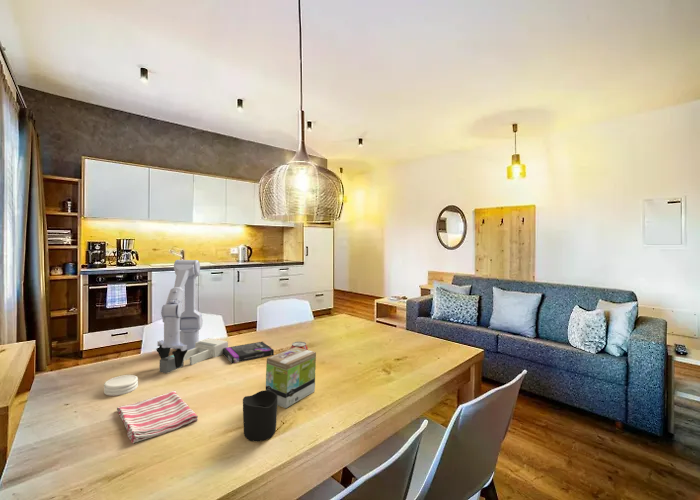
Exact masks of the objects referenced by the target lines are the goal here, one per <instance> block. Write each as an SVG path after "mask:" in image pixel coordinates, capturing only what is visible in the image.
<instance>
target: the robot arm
mask: <svg viewBox="0 0 700 500" xmlns="http://www.w3.org/2000/svg"><path fill="white" fill-rule="evenodd" d="M173 271H174V273H175V281H174V286H173V287H172V288H171V289H170V290H169V293H168V297H167V300H166V303H165V304H163V305H162V307H161V311H160V314H161V318H162V323H163V340H158V341H157V343H156V345H157V348H155V349H156V350H155V351H156V352H157V353H158V355H159V357H160V359H161V358H166V357H168V356H170V351H171V349H174V351H172V352H171V353H172V355H174V358H175V366H176V368H178V367H181V365H182V361H183V358H184V356H185V354H186V352H187V351H188V350H191V349H193V348H195V343H196V342H199V341H200V340H199V339H200V335H199V333H200V331H201V329H203V328H202V327H203V324H204V323H203V321H204V320H203V315H202V313H201V312H200V311H199V310H198V309H196V307H197V306H196V303H197V302H196V299H197V298H196V297H197V296H196V293H197V292H196V285H197V283H196V282H197V277H199V276H200V274H201V264H200V261H199V260H198V259H176V260H175V261H174V263H173ZM183 301H184V311H183ZM181 368H182V367H181ZM178 369H179V368H178Z"/></svg>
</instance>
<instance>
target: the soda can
mask: <svg viewBox="0 0 700 500" xmlns="http://www.w3.org/2000/svg"><path fill="white" fill-rule="evenodd" d="M295 347H298V348H302V349H306V350H308V349H309V347H308V346H307V342H305V341H295V342H292V343H291V346H290V348H289V349H292V348H295Z"/></svg>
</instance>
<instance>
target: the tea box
mask: <svg viewBox="0 0 700 500" xmlns="http://www.w3.org/2000/svg"><path fill="white" fill-rule="evenodd" d="M316 361H317V352H316V351H314V350H306V349H302V348H298V347H295V348H292V349H290V348H289V349H287V350H284V351H282V352H279V353H276V354H274V355H271V356H267V357H266V366H265V367H266V371H265V390H268V391H272V392H275V393H276V394H277V396H278V400H277V407H281V408H284V409H288V407H290V406H292V405H293V404H295V403H297V402H299V401H300V400H302V399H304V398H306V397H307V396H309V395H311V394H313V393H315V389H316V367H317V366H316V363H317V362H316Z"/></svg>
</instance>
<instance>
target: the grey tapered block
mask: <svg viewBox="0 0 700 500" xmlns="http://www.w3.org/2000/svg"><path fill="white" fill-rule="evenodd" d="M184 364H185V361H184V358H183V361H182V365H181V367H178V368H176V366H175V358H174V355H173V354H172V355H169V356H168V357H166V358H161V357H160V359H159V372H160V373H163V374H169V373H171V372H174V371H176V370H178V369H180V368H183V367H184Z"/></svg>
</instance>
